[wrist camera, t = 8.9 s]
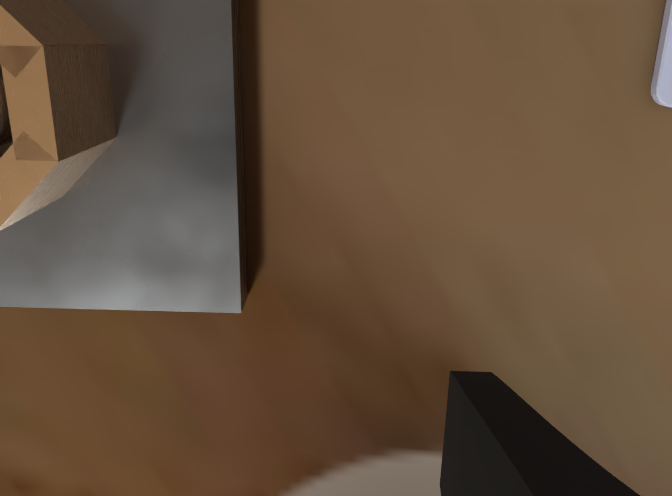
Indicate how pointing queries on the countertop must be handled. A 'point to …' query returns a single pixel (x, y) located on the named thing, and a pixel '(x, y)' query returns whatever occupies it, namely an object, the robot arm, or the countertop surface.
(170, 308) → the piston stand
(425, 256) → the countertop surface
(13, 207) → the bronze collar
